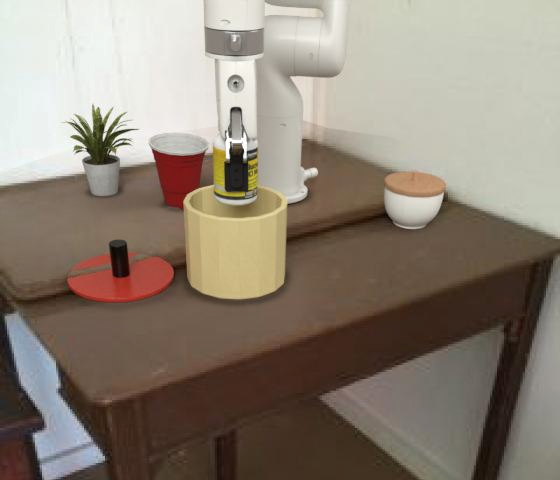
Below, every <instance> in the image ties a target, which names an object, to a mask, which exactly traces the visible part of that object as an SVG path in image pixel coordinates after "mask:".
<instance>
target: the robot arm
mask: <svg viewBox="0 0 560 480" xmlns="http://www.w3.org/2000/svg"><path fill="white" fill-rule="evenodd" d="M266 4H267V5H269V6H274V7H280V8H281V7H282V8H294V9H295V8H297V9H316V10H319V11H320V12H322V14H323V17H319V16H318V17H317V16H300V15H285V14H280V15H279V14H268V15H266V13H265V12H266V10H265V8H266V6H265V5H266ZM350 11H351V0H203V22H204V23H203V26H204V27H203V29H204V31H203V33H204V34H203V35H204V56H205V57H207V58H210V59H214V77H215V78H214V81H215V100H216V102H215V103H216V112H217V123H218V122H219V129H220V132H219V134H220V135H221V138H222V139H223V140H224V141H225V142H226V161H224V177H225V191H227V192H247V191H248V161H247V139H246V133H247V136H248V138H252V141H255V140H256V139H257V141H258V185H259V186H264V187H268V188H271V189H273V190H276V191H278V192H280V193H282V194H283V195H284V196H285V198H286V199H287V200H288V202H287V205H290V204H294V203H295V204H296V203H298V202H301V201H303V200H304V199H306V198H307V196H308V190H309V189H308V187H307V186H306V185H305V182H306V181H307V180H309V179H313V178H317V177H318V175H319V171H318V168H316V167H310V168H307V169H305V168H304V167H303V166H302V147H303V146H302V145H303V144H302V143H303V121H304V100H303V96H302V94H301V91H300V90H299V88H298V87H297V85H296V84H295V82H294V81H293V79H292V77H305V78H306V77H307V78H325V79H327V78H328V79H329V78H335V77H337V76H339V75H340V74H341V72H342V71H343V70H344V67H345V63H346V58H347V49H348V36H349V26H350V25H349V24H350V13H351V12H350ZM228 127H229V134H232V138H228ZM225 131H226V132H225ZM241 134H243V138H242V135H241ZM225 138H226V139H225ZM230 144H232V146H230Z"/></svg>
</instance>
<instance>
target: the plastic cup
mask: <svg viewBox="0 0 560 480" xmlns="http://www.w3.org/2000/svg"><path fill="white" fill-rule="evenodd" d="M148 146H149V147H150V149H151V152H152V155H153V160H154V162H155V163H154V164H155V167H156V170H157V176H158V180H159V186H160V189H161V191H162V197H163V200H164V203H165V204H166V205H167V206H169V207H173V208H178V209H179V210H181V211H184V205H183V201H184V199H185V197H186V196H187V194H189V193H191V192H193V191H194V190H196V189H198V188H200V185H201V176H202V168H203V162H204V160H205V159H204V157H205V155H206V152H207V151H208V150H209V146H210V143H209V142H208V141H207V140H206V139H205V138H203V137H201V136H198V135H195V134H190V133H182V132H163V133H160V134H155V135H153V136H151V137H149V139H148Z"/></svg>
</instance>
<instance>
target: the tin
mask: <svg viewBox="0 0 560 480" xmlns="http://www.w3.org/2000/svg"><path fill="white" fill-rule="evenodd" d="M287 202H288V200H287V199H286V198H285V196H284V195H283V194H282V193H280V192H278V191H276V190H273V189H271V188H268V187H264V186H259V185H258V190H257V199H256V200H255V201H254V202H253V203H250V204H247V205H242V206H232V205H226V204H222V203H220V202H218V201H217V200H216V199H215V197H214V184H211V185H207V186H202V187H199V188H198V189H196V190H194V191H193V192H191V193H189V194H187V196H186V197H185V199H184V201H183V205H184V210H183V222H184V240H185V259H186V260H185V261H186V277H187V278H186V279H187V280H188V282H189V284H190V286H191V288H193V289H195V290H196V291H198V292H200V293H201V294H203V295H207V296H211V297H214V298H217V299H226V300H227V299H228V300H229V299H230V300H246V299H254V298H259V297H263V296H266V295H268V294H271V293H273V292H274V293H275V292H276V291H277V290H278V289H279V288H280V287H281V286H282V285H284V283H285V278H286V261H287V260H286V256H287V230H288V229H287V228H288V204H287Z"/></svg>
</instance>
